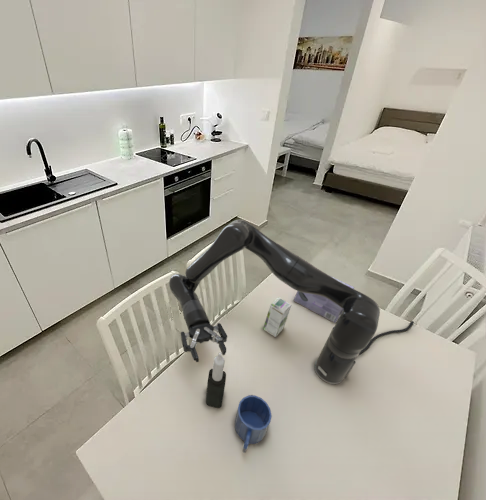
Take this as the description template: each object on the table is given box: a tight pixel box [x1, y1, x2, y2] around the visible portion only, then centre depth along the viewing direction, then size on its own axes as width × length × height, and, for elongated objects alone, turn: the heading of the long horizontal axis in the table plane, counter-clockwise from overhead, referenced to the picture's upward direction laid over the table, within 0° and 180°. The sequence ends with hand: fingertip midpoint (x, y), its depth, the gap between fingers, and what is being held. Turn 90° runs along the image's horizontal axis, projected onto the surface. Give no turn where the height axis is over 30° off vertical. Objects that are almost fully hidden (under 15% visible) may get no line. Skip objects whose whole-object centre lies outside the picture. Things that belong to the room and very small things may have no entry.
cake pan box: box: [293, 275, 355, 324], centre depth 115 cm, size 19×5×18 cm, turn 49°
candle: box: [205, 351, 227, 409], centre depth 82 cm, size 5×5×25 cm
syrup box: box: [263, 297, 292, 338], centre depth 107 cm, size 6×6×14 cm
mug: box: [234, 394, 273, 454], centre depth 80 cm, size 12×9×10 cm
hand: (211, 356), depth 85 cm, fingers open, 8 cm apart
